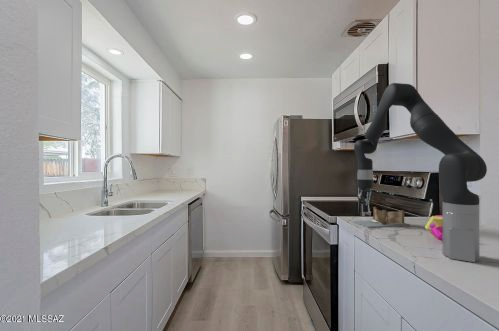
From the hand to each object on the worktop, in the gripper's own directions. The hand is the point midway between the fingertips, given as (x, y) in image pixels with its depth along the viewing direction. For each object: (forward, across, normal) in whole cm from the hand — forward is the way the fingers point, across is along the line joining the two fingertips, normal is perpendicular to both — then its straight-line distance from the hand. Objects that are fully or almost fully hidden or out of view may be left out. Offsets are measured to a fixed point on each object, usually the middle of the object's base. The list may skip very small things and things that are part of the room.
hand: (365, 212), depth 134 cm
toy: (+6, -5, -34) cm, 35 cm away
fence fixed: (+5, +6, -11) cm, 14 cm away
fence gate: (+4, +5, -4) cm, 8 cm away
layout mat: (+5, +3, -6) cm, 9 cm away
